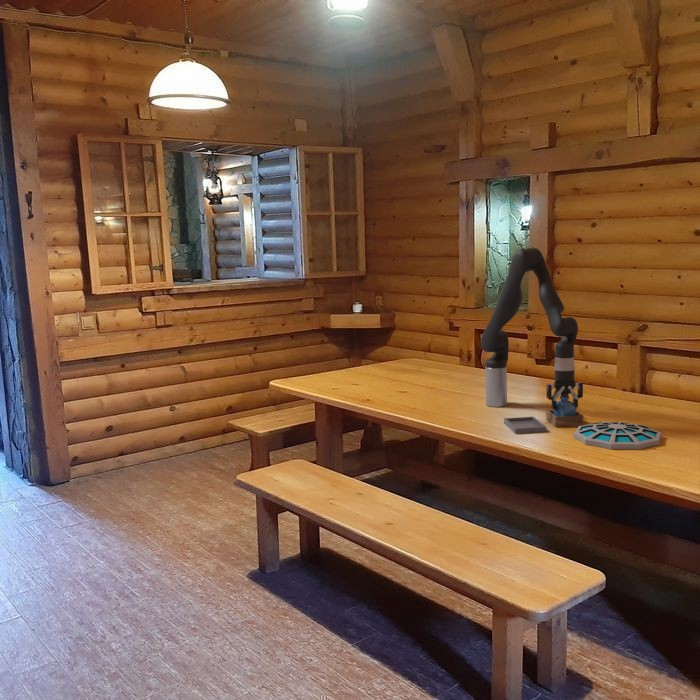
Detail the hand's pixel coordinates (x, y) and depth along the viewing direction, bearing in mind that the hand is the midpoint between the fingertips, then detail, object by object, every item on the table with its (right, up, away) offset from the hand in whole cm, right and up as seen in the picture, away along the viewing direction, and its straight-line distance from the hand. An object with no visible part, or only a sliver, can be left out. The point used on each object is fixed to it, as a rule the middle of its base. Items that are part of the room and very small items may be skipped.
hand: (564, 409), depth 287 cm
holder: (0, -6, +1) cm, 6 cm away
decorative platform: (+13, -9, -22) cm, 27 cm away
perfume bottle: (0, -6, +1) cm, 6 cm away
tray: (-16, -7, -3) cm, 18 cm away
